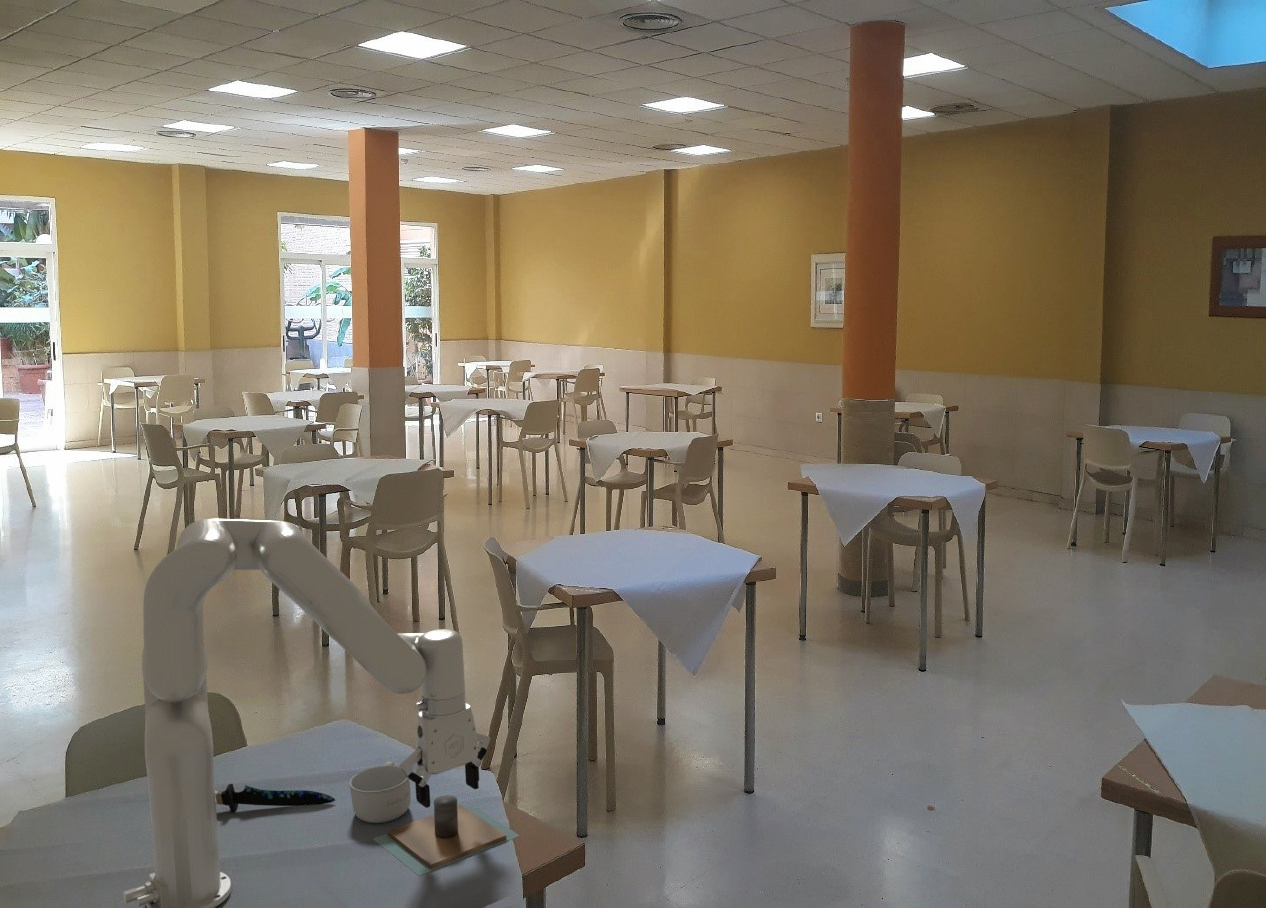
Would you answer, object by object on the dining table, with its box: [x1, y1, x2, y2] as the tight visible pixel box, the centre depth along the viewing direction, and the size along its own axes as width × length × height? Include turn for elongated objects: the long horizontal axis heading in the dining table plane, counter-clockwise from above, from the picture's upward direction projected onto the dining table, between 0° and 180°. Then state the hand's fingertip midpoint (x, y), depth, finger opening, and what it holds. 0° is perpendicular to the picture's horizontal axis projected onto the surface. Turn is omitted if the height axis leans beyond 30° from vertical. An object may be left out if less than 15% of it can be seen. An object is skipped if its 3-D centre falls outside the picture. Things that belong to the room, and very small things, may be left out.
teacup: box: [348, 761, 412, 824], centre depth 198 cm, size 14×11×8 cm
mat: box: [372, 803, 521, 877], centre depth 188 cm, size 20×16×1 cm
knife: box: [215, 783, 336, 814], centre depth 200 cm, size 31×3×4 cm, turn 94°
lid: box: [386, 795, 506, 869], centre depth 187 cm, size 15×15×7 cm
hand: (448, 795), depth 187 cm, fingers open, 9 cm apart
